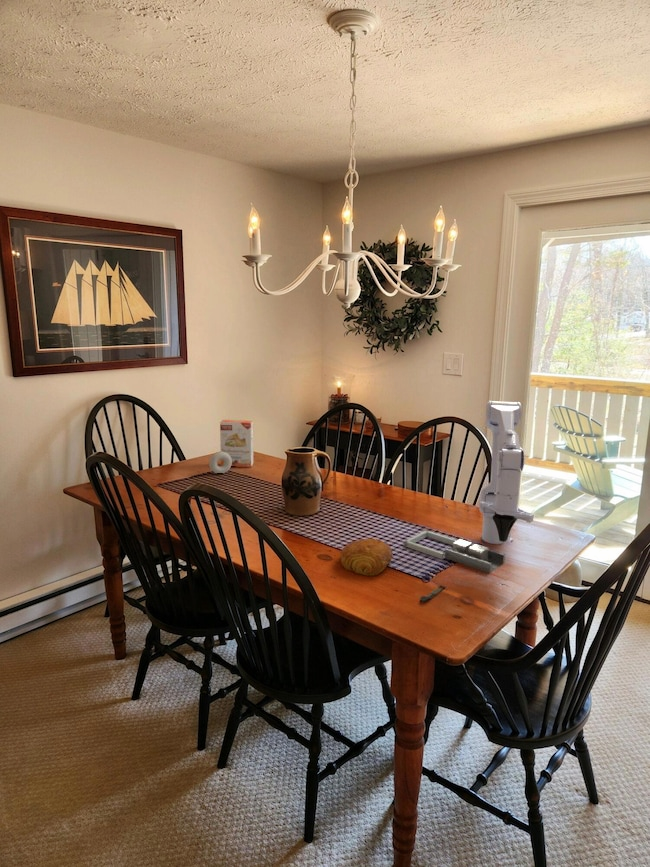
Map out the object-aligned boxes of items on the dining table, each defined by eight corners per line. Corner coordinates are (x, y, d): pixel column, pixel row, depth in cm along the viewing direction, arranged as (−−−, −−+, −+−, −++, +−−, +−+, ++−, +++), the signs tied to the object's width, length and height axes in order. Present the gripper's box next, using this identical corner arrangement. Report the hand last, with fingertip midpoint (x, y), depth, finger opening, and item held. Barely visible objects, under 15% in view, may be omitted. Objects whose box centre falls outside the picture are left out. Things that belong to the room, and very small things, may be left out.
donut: (210, 476, 240) (210, 453, 237) (208, 474, 243) (207, 451, 240) (233, 473, 244) (232, 451, 242) (230, 471, 247) (230, 449, 245)
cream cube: (474, 556, 163) (475, 543, 162) (487, 560, 160) (488, 547, 159) (467, 561, 160) (468, 547, 159) (480, 565, 157) (481, 552, 156)
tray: (425, 537, 178) (426, 530, 178) (462, 549, 170) (463, 541, 169) (403, 548, 170) (404, 541, 169) (441, 562, 161) (442, 554, 160)
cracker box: (220, 467, 254) (219, 421, 249) (223, 463, 259) (222, 419, 255) (251, 468, 253) (250, 422, 248) (253, 464, 259) (253, 420, 254)
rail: (460, 551, 169) (460, 540, 168) (504, 565, 159) (505, 554, 159) (444, 560, 162) (445, 549, 161) (489, 576, 153) (490, 564, 152)
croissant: (397, 565, 163) (400, 539, 163) (381, 581, 149) (384, 552, 148) (350, 555, 169) (353, 529, 168) (330, 569, 155) (333, 541, 154)
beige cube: (459, 551, 166) (459, 538, 165) (471, 555, 163) (472, 542, 162) (452, 555, 163) (452, 542, 162) (464, 559, 160) (465, 546, 160)
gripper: (475, 489, 152) (471, 536, 155) (527, 502, 143) (522, 552, 146) (487, 484, 157) (483, 530, 160) (538, 496, 148) (533, 544, 151)
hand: (503, 540), depth 153 cm, fingers closed
